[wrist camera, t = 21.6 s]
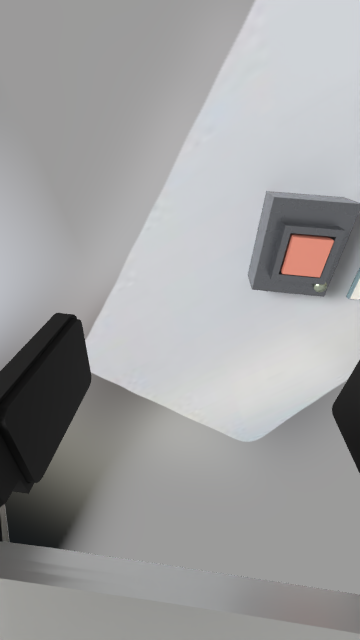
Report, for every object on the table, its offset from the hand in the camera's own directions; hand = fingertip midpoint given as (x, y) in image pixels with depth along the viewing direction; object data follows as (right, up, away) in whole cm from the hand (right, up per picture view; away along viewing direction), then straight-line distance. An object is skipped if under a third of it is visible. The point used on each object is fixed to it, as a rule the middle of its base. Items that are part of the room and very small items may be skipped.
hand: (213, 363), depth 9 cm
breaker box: (+15, +13, +28) cm, 35 cm away
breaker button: (+14, +10, +24) cm, 30 cm away
